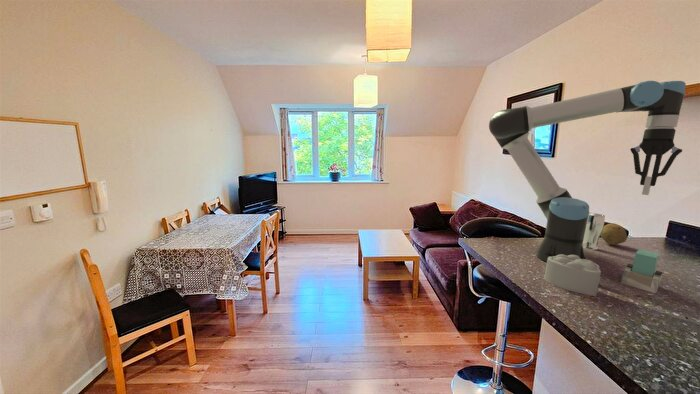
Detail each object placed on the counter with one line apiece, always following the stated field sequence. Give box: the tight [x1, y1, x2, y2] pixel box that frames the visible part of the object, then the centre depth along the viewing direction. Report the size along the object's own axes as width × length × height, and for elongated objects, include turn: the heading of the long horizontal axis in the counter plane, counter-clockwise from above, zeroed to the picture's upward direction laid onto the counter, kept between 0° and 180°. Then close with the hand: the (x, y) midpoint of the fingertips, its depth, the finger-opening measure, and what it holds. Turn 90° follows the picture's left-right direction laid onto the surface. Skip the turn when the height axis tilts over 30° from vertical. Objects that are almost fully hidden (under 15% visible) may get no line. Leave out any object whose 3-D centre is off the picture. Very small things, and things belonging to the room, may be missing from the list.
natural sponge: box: [600, 222, 628, 246], centre depth 127 cm, size 9×9×10 cm
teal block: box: [632, 249, 660, 277], centre depth 87 cm, size 6×4×10 cm
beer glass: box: [583, 212, 606, 251], centre depth 122 cm, size 7×7×15 cm
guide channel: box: [620, 263, 663, 294], centre depth 89 cm, size 16×10×6 cm, turn 128°
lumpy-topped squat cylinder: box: [543, 254, 602, 296], centre depth 89 cm, size 10×13×9 cm
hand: (645, 194), depth 104 cm, fingers closed
